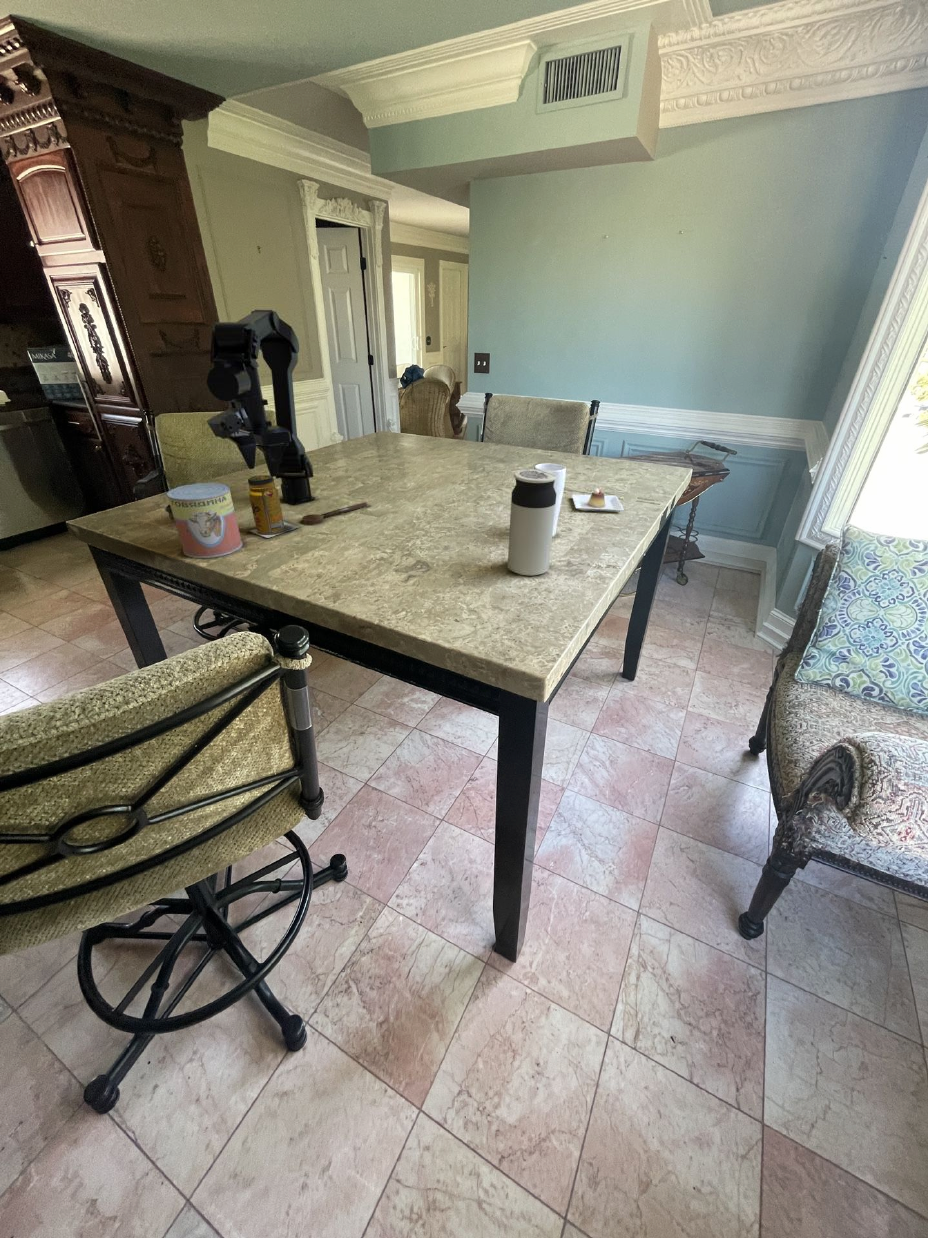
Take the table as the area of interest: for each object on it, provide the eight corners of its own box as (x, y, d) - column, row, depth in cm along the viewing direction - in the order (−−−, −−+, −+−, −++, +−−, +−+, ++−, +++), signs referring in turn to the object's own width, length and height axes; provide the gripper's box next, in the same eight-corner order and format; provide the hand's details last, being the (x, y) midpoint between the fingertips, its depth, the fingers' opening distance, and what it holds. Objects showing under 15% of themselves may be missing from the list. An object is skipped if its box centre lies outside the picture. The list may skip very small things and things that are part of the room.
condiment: (249, 531, 113) (237, 477, 107) (281, 521, 119) (272, 470, 112) (267, 538, 109) (256, 484, 103) (300, 528, 115) (291, 475, 109)
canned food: (184, 562, 98) (166, 502, 92) (182, 542, 107) (166, 486, 100) (245, 552, 103) (232, 494, 96) (239, 534, 111) (226, 480, 105)
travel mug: (519, 579, 93) (527, 482, 83) (500, 563, 99) (504, 471, 90) (556, 572, 95) (567, 477, 86) (535, 557, 102) (543, 467, 92)
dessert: (615, 499, 136) (618, 481, 133) (623, 514, 125) (626, 495, 123) (571, 497, 137) (573, 480, 134) (575, 512, 126) (577, 493, 124)
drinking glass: (561, 531, 114) (568, 464, 107) (556, 541, 109) (563, 472, 101) (532, 527, 116) (537, 462, 109) (525, 537, 111) (530, 469, 103)
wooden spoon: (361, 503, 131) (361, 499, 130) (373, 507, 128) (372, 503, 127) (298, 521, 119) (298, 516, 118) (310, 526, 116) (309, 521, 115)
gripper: (186, 393, 101) (206, 471, 109) (230, 403, 90) (248, 488, 98) (239, 389, 108) (254, 462, 116) (285, 397, 97) (298, 477, 105)
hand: (262, 472), depth 109 cm, fingers open, 9 cm apart
